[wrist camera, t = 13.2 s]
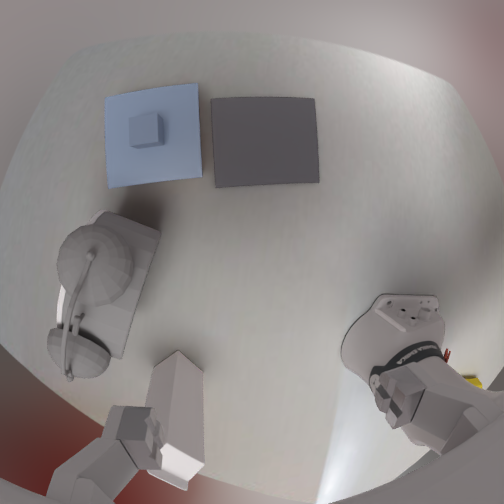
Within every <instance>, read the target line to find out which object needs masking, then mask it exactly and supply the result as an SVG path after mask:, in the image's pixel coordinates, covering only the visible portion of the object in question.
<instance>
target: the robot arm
mask: <svg viewBox="0 0 504 504" xmlns="http://www.w3.org/2000/svg"><path fill="white" fill-rule="evenodd" d="M388 301H389V302H388ZM444 334H445V324H444V320H443V318H442V317H441V316H440V315H439V302H438V299H437V298H436V297H435V296H417V295H381V296H379V297H378V298H377V300H376V301H375V302H374V304H373V305H372V307H371V309H370V310H369V311H368V312H367V313H366V314H364V315H363V316H362V317H361V318H360V319H359V320H358V321H356V323H355V324H354V325H353V326H352V327H351V329H350V330H349V332H348V333H347V335H346V337H345V339H344V342H343V345H342V350H341V357H342V361H343V363H344V365H345V366H346V367H347V368H348V369H349V370H351V371H352V372H354V373H355V374H357V375H358V376H359V377H360V378H361V379H363V380H364V381H365V382H366V383H367V384H368V385H369V386H370V388H371V390H372V392H373V394H374V396H375V402H376V405H377V407H378V408H379V410H380V411H382V412H384V413H386V417H385V419H386V420H387V422H388V423H389V424H390V426H391V427H392V429H396V428H398V427H401V428H402V430H403V431H404V433H405V434H406V435H407V437H408V438H409V440H410V441H411V442H412V443H413V444H415V445H418V446H427V447H429V448H430V449H432V450H433V451H435V452H436V453H438V454H439V455H440V457H439V458H437V459H435V460H433V461H432V462H430V463H428V464H426V465H424V466H422V467H420V468H418V469H416V470H414V471H412V472H411V473H408V474H406V475H404V476H402V477H400V478H398V479H395V480H393V481H391V482H389V483H386V484H384V485H381V486H379V487H376V488H374V489H371V490H369V491H366V492H363V493H361V494H358V495H355V496H352V497H349V498H346V499H343V500H339V501H336V502H333V503H329V504H504V390H503V391H500V392H492V391H487V390H484V389H481V388H479V387H477V386H475V385H473V384H471V383H470V382H468V381H467V380H466V379H465V378H463V377H462V376H461V375H460V374H459V373H457V372H456V371H455V370H454V369H453V368H452V367H451V366H449V365H448V364H447V362H448V359H449V356H450V352H451V351H449V353H448V349H446V351H445V354H444V357H443V354H442V352H441V347H442V343H443V339H444ZM447 355H448V356H447ZM156 419H157V413H156V411H155V408H153V407H133V406H115V405H113V406H112V407H111V409H110V412H109V415H108V418H107V421H106V424H105V427H104V430H103V433H102V436H101V438H96V439H95V440H94V441H93V442H91V443H90V444H89V445H87V446H86V447H85V448H83V449H82V450H81V451H80V452H78V453H77V454H76V455H74V456H73V457H72V458H70V459H69V460H68V461H67V462H65V463H64V464H62V465H61V466H60V467H58V468H57V469H55V471H54V474H53V477H52V480H51V482H50V486H49V489H48V492H47V495H46V497H44V496H41V495H39V494H36V493H34V492H31V491H28V490H26V489H24V488H21V487H19V486H17V485H14V484H12V483H10V482H8V481H6V480H4V479H2V478H0V504H115V503H114V502H113V500H114V498H115V497H116V496H117V495H118V494H119V493H120V492H121V490H122V489H123V488H124V487H125V486H126V485H127V483H128V482H129V481H130V479H132V478H133V476H134V475H135V474H136V473H137V472H138V469H145V470H161V468H162V457H163V455H162V453H161V451H160V449H161V448H162V447H163V446H164V432H163V428H162V425H161V423H160V422H159V421H158V420H156Z"/></svg>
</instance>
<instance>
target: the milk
mask: <svg viewBox="0 0 504 504" xmlns="http://www.w3.org/2000/svg"><path fill="white" fill-rule="evenodd" d="M145 407H153V408H155V411H156V413H157V419H156V420H158V421H159V422H160V423H161V425H162V428H163V432H164V446H163V447H162V448H161V449H160V451H161V453H162V455H163V457H162V468H161V470H147V471H148V473H150V474H151V475H153V476H155V477H157V478H159V479H161V480H163V481H165V482H167V483H169V484H172V485H174V486H176V487H178V488H181V489H183V490H185V491H187V490H188V481H189V480H190V479H191V478H192V477H193V476H194V475H195V474H196V473H197V472H198V471H199V470H200V469H201V468H202V467H203V466H204V465H205V456H204V414H203V371H201V370H200V369H199V368H198V367H197V366H196V365H194V364H193V363H192V362H191V361H190V360H189V359H188V358H186V357H185V356H184V355H183V354H182V353H181V352H180V351H179V350H178V351H176V352H175V353H174V354H172V355H171V356H169V357H168V358H167V359H165V360H164V361H162V362H161V363H160V364H158V365H157V366H155V367H154V369H153V373H152V377H151V381H150V386H149V390H148V394H147V399H146V403H145Z"/></svg>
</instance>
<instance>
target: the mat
mask: <svg viewBox="0 0 504 504" xmlns="http://www.w3.org/2000/svg"><path fill="white" fill-rule="evenodd" d="M211 115H212V135H213V153H214V169H215V184H216V188H221V187H235V186H250V185H268V184H290V183H319V158H318V140H317V125H316V112H315V100H314V99H313V98H293V97H235V98H215V99H211Z"/></svg>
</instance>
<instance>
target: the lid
mask: <svg viewBox="0 0 504 504" xmlns="http://www.w3.org/2000/svg"><path fill="white" fill-rule="evenodd" d="M105 150H106V168H107V182H108V189H111V188H117V187H124V186H130V185H138V184H145V183H153V182H161V181H169V180H179V179H188V178H199V177H203V174H202V158H201V141H200V120H199V95H198V83H192V84H182V85H174V86H166V87H159V88H152V89H146V90H140V91H135V92H129V93H124V94H119V95H115V96H110V97H106V98H105Z"/></svg>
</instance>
